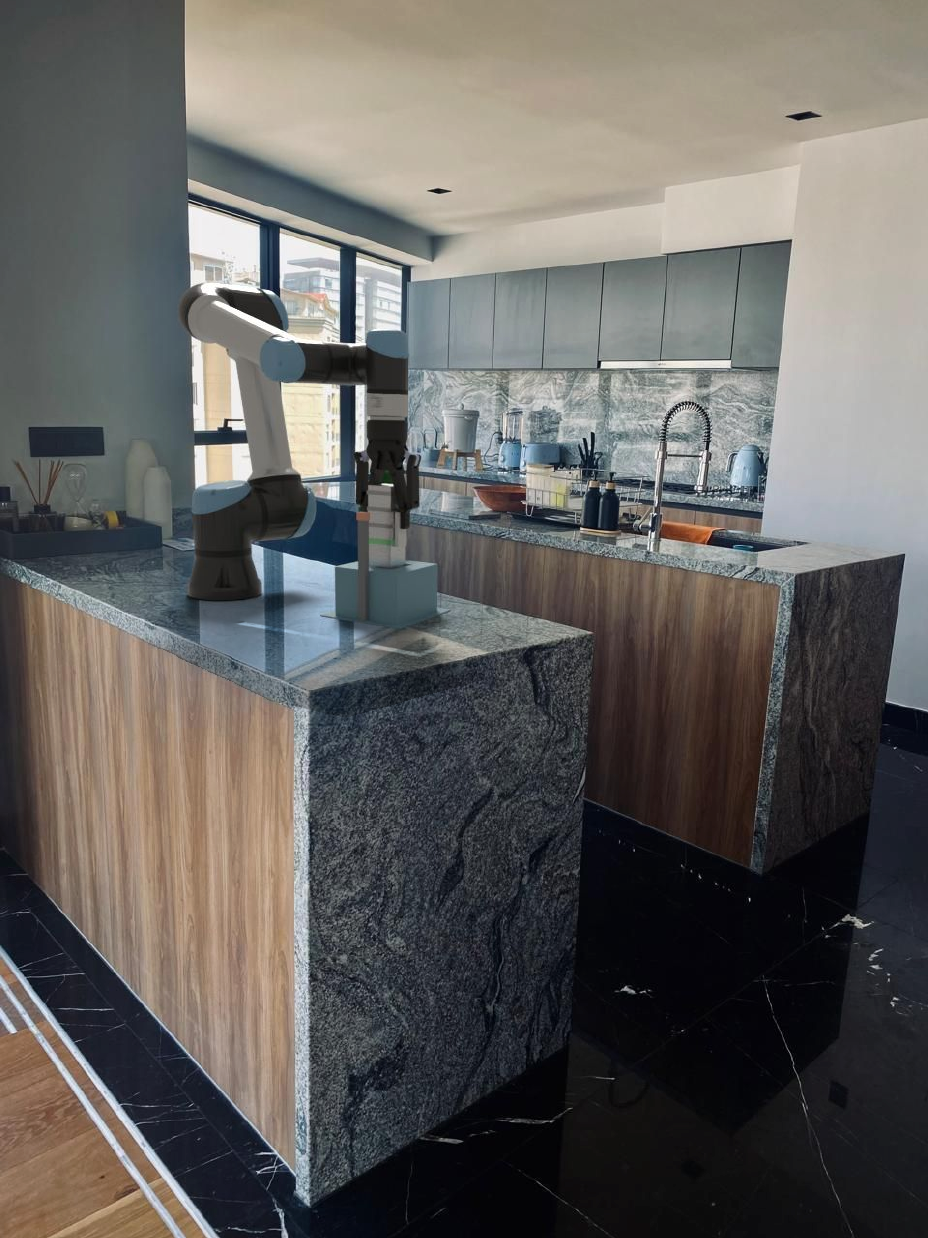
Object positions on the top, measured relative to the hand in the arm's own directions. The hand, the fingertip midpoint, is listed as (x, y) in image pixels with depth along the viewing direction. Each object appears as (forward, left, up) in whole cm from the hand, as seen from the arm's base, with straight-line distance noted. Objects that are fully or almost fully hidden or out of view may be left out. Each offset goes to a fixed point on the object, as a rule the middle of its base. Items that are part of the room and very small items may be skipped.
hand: (387, 544), depth 166 cm
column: (0, 0, -11) cm, 11 cm away
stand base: (0, 0, -14) cm, 14 cm away
